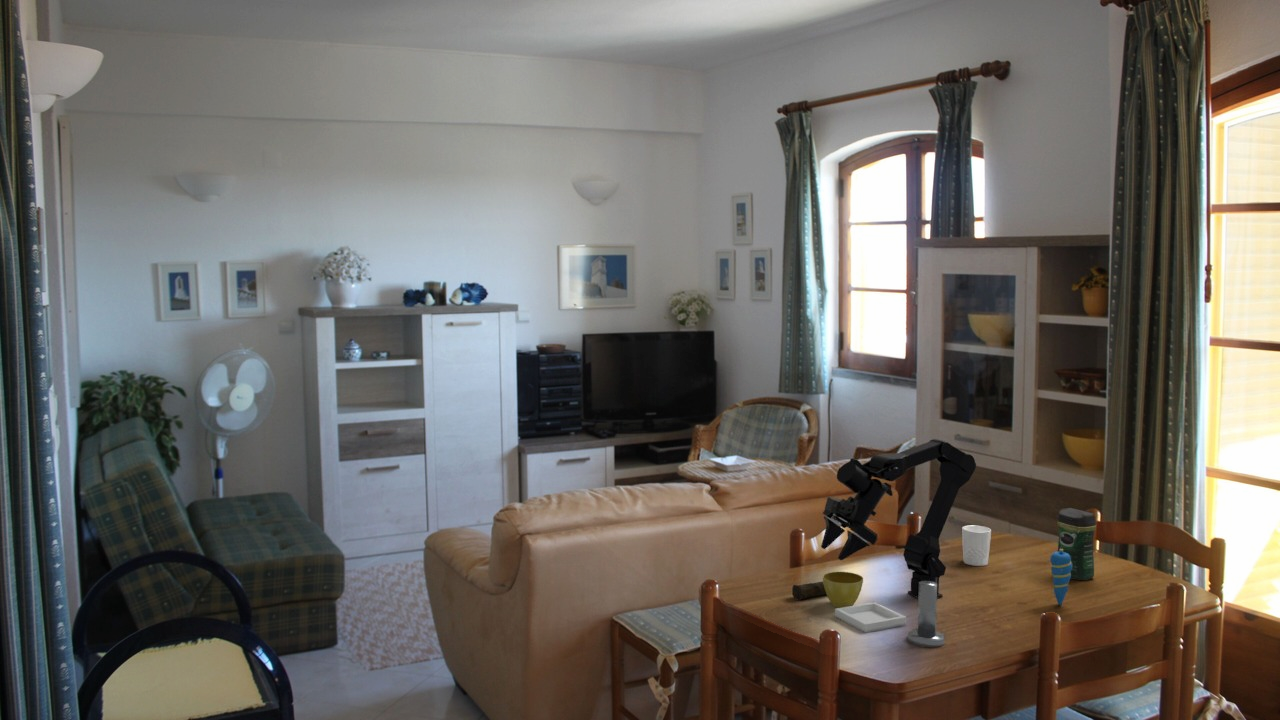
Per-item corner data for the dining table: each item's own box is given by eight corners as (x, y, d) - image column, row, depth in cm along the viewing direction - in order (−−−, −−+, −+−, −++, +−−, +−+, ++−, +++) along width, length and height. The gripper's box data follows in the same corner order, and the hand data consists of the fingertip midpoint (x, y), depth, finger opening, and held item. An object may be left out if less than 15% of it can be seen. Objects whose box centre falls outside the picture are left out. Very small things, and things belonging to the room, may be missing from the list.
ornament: (1060, 609, 258) (1063, 550, 256) (1043, 603, 262) (1046, 545, 261) (1074, 606, 260) (1077, 548, 259) (1058, 600, 265) (1060, 543, 263)
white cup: (959, 558, 302) (960, 524, 301) (987, 559, 301) (988, 525, 300) (963, 566, 294) (964, 531, 293) (992, 567, 293) (993, 532, 292)
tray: (874, 609, 257) (874, 602, 257) (906, 625, 246) (906, 617, 246) (834, 616, 252) (834, 608, 252) (865, 632, 241) (865, 624, 241)
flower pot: (819, 598, 266) (819, 570, 265) (858, 598, 266) (859, 571, 265) (825, 611, 256) (825, 583, 255) (866, 611, 256) (866, 583, 255)
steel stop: (928, 632, 241) (930, 576, 240) (952, 644, 234) (954, 586, 233) (900, 637, 238) (902, 580, 237) (924, 649, 231) (926, 590, 230)
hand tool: (799, 602, 263) (799, 585, 262) (791, 597, 267) (791, 580, 266) (861, 593, 271) (861, 576, 270) (852, 589, 274) (852, 572, 274)
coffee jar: (1099, 578, 283) (1102, 512, 281) (1079, 582, 279) (1082, 515, 278) (1069, 569, 292) (1072, 504, 290) (1050, 573, 288) (1052, 507, 286)
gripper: (825, 475, 263) (791, 526, 262) (860, 493, 245) (824, 548, 244) (856, 498, 266) (823, 548, 265) (893, 517, 248) (857, 571, 248)
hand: (830, 553), depth 256 cm, fingers open, 9 cm apart
